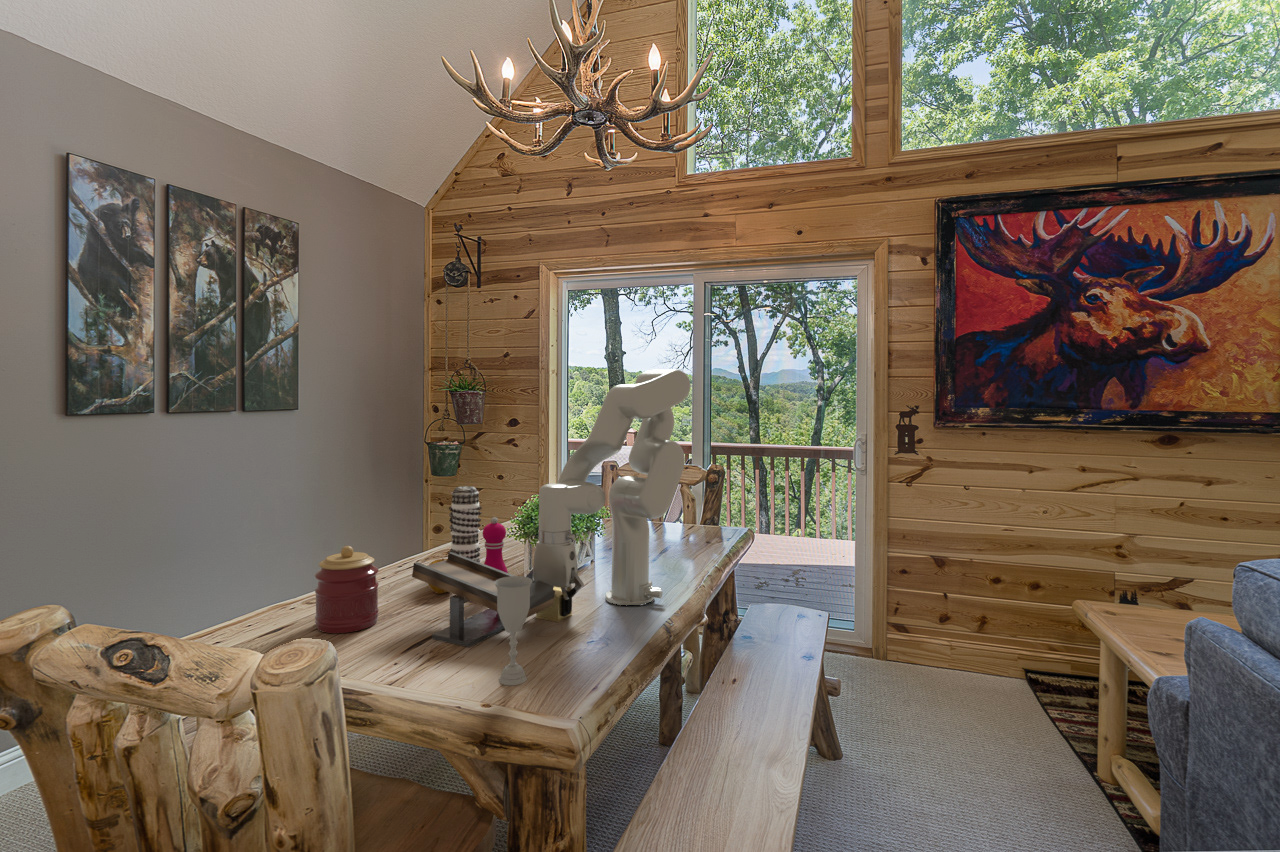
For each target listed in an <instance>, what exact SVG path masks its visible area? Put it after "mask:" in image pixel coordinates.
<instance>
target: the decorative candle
mask: <svg viewBox="0 0 1280 852" xmlns="http://www.w3.org/2000/svg"><path fill="white" fill-rule="evenodd" d="M479 493H480V491H478V489H477V488H476V487H475V486H467V485H464V486H457V487H455V488H454V489H453V491H452V492H450V494H451V496H452V498H451V506H449V507H448V510H449V511H450V513H449V514H448V515H449V517H450V518H449V522H450V526H449V529H450V534H451V545H450V547H451V548H450V550H449V552H453V553H455V554H458V555H461V556H463V557H466V558H469V559H471V560H474V561H477V562H479V563H481V559H480V556H481V553H480V550H481V547H480V541H479V537H480V536H479V534H480V533H481V530H480V529H479V528H480V527H481V526H482V525H481V524H480V522H481V521H482V519H481V518H480V517H479V516H481V515H482V512H481V510H482V509H483V507H482V506H481V505H480V501H479V499H480V498H479V497H480V496H479Z"/></svg>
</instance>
